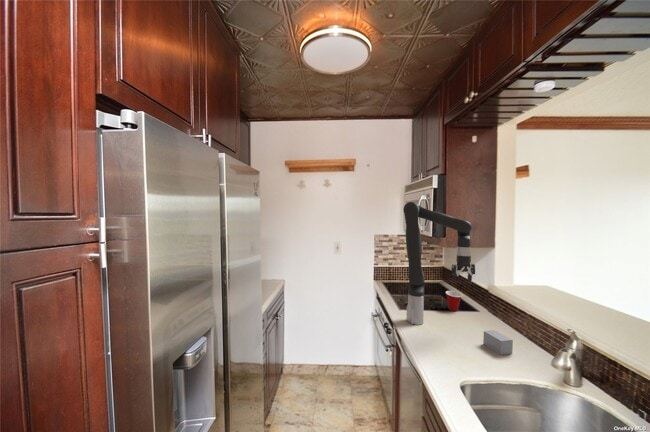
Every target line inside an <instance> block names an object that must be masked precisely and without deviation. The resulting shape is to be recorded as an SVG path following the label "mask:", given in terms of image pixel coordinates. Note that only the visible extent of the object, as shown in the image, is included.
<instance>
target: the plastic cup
mask: <svg viewBox="0 0 650 432" xmlns="http://www.w3.org/2000/svg"><path fill="white" fill-rule="evenodd" d="M445 295H446V300H447V306H448V307H447V308H448V309H449V311H452V312H458V310H459V307H460V303H461V299H462V297H463V294H462V293H461V292H458V291H454V290H446V291H445Z"/></svg>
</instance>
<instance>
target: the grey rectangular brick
mask: <svg viewBox="0 0 650 432" xmlns="http://www.w3.org/2000/svg"><path fill="white" fill-rule="evenodd" d="M513 341H514V340H513V339H512V338H510V337H508V336H507V335H504V334H503V333H501V332H499V331H497V330H495V329H491V330H483V341H482V343H483V345H484V344H485V345H484V346H486V347H487V348H490V349H491V350H492V351H494V352H495V353H497V354H499V355H500V356H503V355H509V354H510V355H511V354H512V355H513Z"/></svg>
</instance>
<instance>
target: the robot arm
mask: <svg viewBox="0 0 650 432" xmlns="http://www.w3.org/2000/svg"><path fill="white" fill-rule="evenodd" d="M403 215H404V219H405V220H404V221H405V246H406V253H407V254H406V255H407V260H408V274H407V275H408V277H407V278H408V289H407V290H408V291H407V292H408V294H407V296H408V297H407V298H408V299H407V305H406V321H407V322H409V324H411V325H419V326H420V325H423V324H424V314H425V313H424V309H425V307H424V305H425V300H424V299H425V280H426V279H425V272H424V271H423V268H422V252H423V249H422V248H423V245H422V235H421V231H420V227H419V218H420V219H423V220H427V221H429V222H431V223H434V224H437V225H439V226H441V227H446V228H448V229H449V228H450V229H453V230H455V231H456V232H457V240H456V241H457V244H456V264H455V263H454V264H453V263H452V264H451V272H450V273H451V274H450V275H452V276H453V277H454V282H455V283H459V281H460V280H459V279H460V278H459V275H460V274H461V273H466V274H467V282H470V283H471V282H472V281H473V275H476V265H475V264H474V263H471V261H472V248H471V244H472V241H471V231H472V228H473V226H472V224H471V222H469V221H468V220H464V219H461V218H457V217H454V216H452V215H448V214H446V213H442V212H439V211H434V210H431V209H427V208H425V207H422V206H421V205H418V204H417V203H416V202H413V201H409V202H408V201H407V203H405V204H404V206H403Z"/></svg>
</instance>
